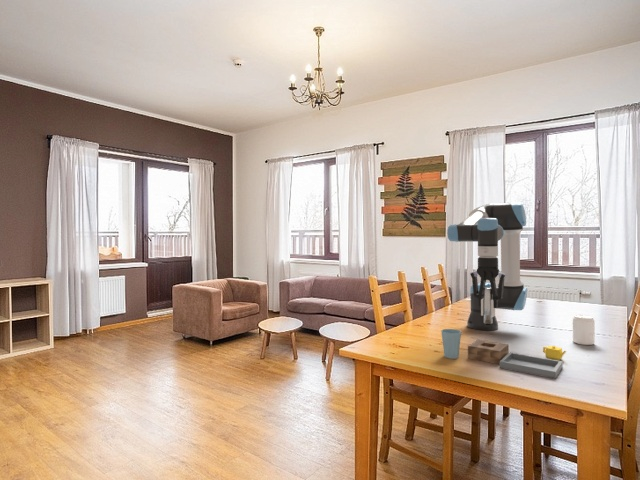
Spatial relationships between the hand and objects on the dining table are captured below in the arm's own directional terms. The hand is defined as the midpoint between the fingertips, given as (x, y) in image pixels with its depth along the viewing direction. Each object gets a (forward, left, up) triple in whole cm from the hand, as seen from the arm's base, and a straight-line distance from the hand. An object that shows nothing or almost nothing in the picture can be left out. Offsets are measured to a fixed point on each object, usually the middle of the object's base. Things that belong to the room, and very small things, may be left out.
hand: (488, 315), depth 157 cm
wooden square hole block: (0, 0, -17) cm, 17 cm away
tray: (+16, -3, -17) cm, 23 cm away
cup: (-12, -8, -17) cm, 22 cm away
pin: (0, 0, -3) cm, 3 cm away
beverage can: (+27, +46, -17) cm, 56 cm away
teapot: (+21, +14, -17) cm, 31 cm away
